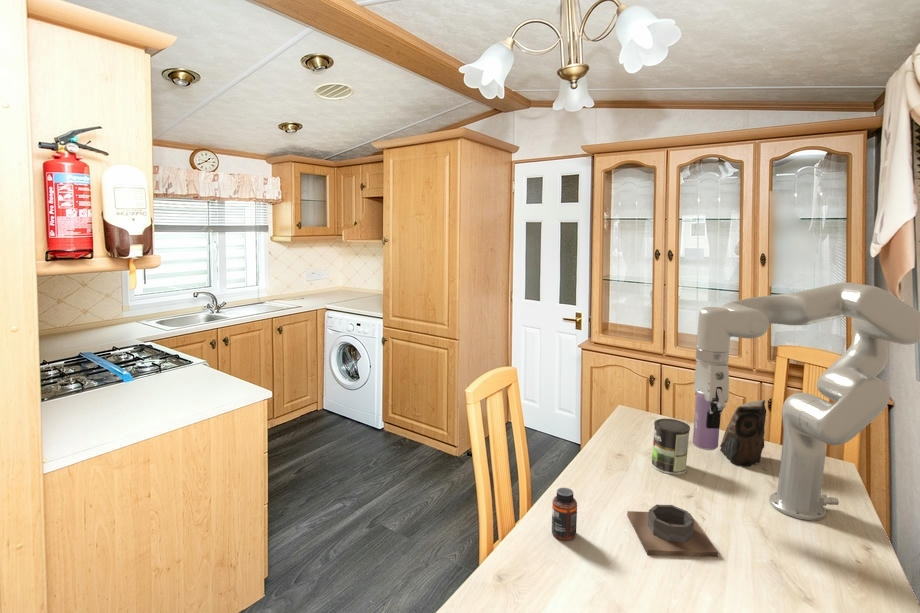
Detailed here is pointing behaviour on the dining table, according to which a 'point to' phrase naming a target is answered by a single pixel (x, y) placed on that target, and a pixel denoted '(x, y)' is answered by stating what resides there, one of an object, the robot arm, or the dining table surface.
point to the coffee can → (670, 446)
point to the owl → (745, 434)
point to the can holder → (670, 532)
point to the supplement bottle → (564, 514)
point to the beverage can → (703, 425)
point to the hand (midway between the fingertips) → (707, 422)
